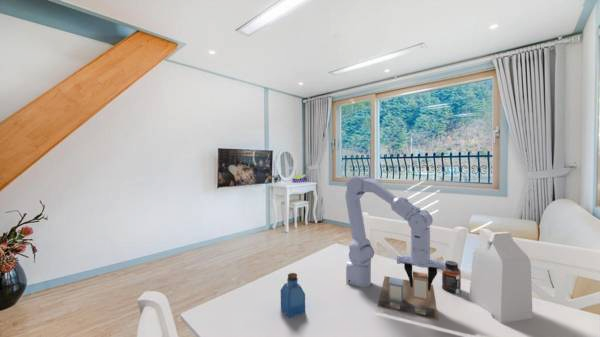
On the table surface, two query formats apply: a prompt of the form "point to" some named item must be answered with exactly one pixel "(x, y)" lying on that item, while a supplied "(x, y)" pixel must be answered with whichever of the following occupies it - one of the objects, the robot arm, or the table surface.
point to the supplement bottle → (451, 278)
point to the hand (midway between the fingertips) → (420, 287)
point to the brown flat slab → (409, 301)
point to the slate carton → (396, 289)
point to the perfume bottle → (292, 296)
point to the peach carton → (420, 285)
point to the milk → (502, 279)
